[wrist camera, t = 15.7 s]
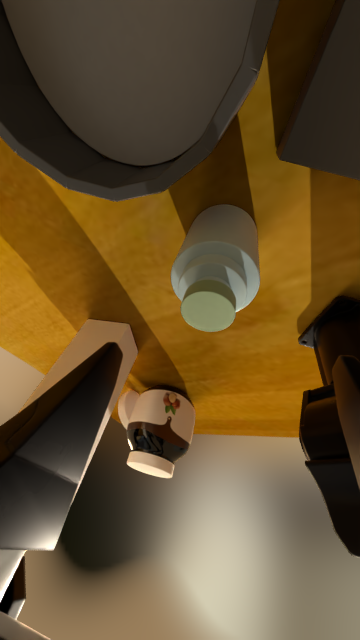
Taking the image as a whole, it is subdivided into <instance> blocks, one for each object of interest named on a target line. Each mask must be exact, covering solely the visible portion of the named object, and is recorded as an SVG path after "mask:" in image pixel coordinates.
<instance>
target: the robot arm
mask: <svg viewBox="0 0 360 640" xmlns="http://www.w3.org/2000/svg"><path fill="white" fill-rule="evenodd" d="M340 301H343V302H340ZM303 340H305V341H303ZM298 341H299V344H301V345H304V346H307V347H311V348H314V351H315V354H316V358H317V362H318V366H319V370H320V374H321V378H322V381H323V385H324V386H323V387H320V388H317V389H314V390H307V391H304V392H303V400H302V409H301V418H300V427H299V439H300V443H301V446H302V449H303V452H304V454H305V456H306V458H307V460H308V461H305V465H306V467H307V469H308V470H309V472H310V473H311V475H312V477H313V478H314V480H315V482H316V484H317V486H318V488H319V490H320V492H321V494H322V497H323V500H324V502H325V505H326V508H327V510H328V514H329V517H330V520H331V523H332V526H333V529H334V531H335V533H336V535H337V536H338V538H339V539H340V541H341V542H342V544H343V545H344V546H345V548H346V549H347V551H348V552H349V553H350V554H351V555H352V556H355V557H359V558H360V300H359V299H355V298H351V297H348V296H343V295H342V296H338V297H336V298H335V299H334V300H333V301H332V302H331V303H330V304H329V306H328V307H327V308H326V309H325V310H324V311H323V312H322V313H321V314H320V315H319V316H318V317H317V319H316V320H315V321H314V322H313V323H312V324H311V325H310V326H309V327H308V328H307V329H306V331H305V332H304V333H303V334H302V335H301V336H300V337H299V338H298ZM122 359H123V353H122V351H121V349H120V347H119V345H118V344H117V343H116V342H107V343H106V344H104V345H103V346H102V347H101V348H99V349H98V350H97V351H96V352H94V353H93V354H92V355H91V356H89V357H88V358H87V359H86V360H84V361H83V362H82V363H81V364H79V365H78V366H77V367H76V368H74V369H73V370H72V371H71V372H69V373H68V374H67V375H66V376H64V377H63V378H62V379H61V380H60V381H58V382H57V383H56V384H55V385H53V386H52V387H51V388H50V389H48V390H47V391H46V392H45V393H43V394H42V395H41V396H40V397H39V398H37V399H36V400H35V401H33V402H32V403H31V404H30V405H28V406H27V407H26V408H24V409H23V410H22V411H21V412H19V413H18V414H17V415H15V416H14V417H13V418H11V419H10V420H8V421H7V422H6V423H4V424H3V425H1V426H0V640H51V639H50V638H48V637H46V636H44V635H42V634H41V633H39V632H37V631H35V630H34V629H32V628H30V627H28V626H26V625H25V624H23V623H21V622H19V621H17V620H16V619H17V617H18V615H19V613H20V610H21V608H22V606H23V604H24V601H25V599H26V588H25V557H24V556H23V555H24V553H25V550H54V547H55V545H56V543H57V540H58V538H59V535H60V532H61V530H62V527H63V524H64V522H65V519H66V516H67V514H68V511H69V508H70V506H71V503H72V500H73V498H74V495H75V493H76V490H77V487H78V485H79V482H80V479H81V476H82V474H83V471H84V468H85V466H86V463H87V460H88V458H89V455H90V452H91V450H92V447H93V444H94V442H95V439H96V436H97V434H98V431H99V428H100V426H101V423H102V420H103V418H104V415H105V412H106V410H107V407H108V404H109V402H110V399H111V396H112V394H113V391H114V388H115V385H116V382H117V378H118V374H119V370H120V366H121V363H122Z"/></svg>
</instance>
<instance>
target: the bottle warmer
mask: <svg viewBox="0 0 360 640" xmlns="http://www.w3.org/2000/svg"><path fill="white" fill-rule="evenodd" d="M279 1H280V0H0V136H1V138H2V139H3V140H4V141H5V142H6V143H7V144H8V145H9V146H10V148H11V149H12V150H13V151H14V152H15V153H17V155H19V156H20V157H22V158H23V159H24V160H26V161H27V162H29V163H30V164H32V165H33V166H35V167H36V168H38V169H39V170H40V171H42V172H43V173H45V174H46V175H48V176H49V177H51V178H52V179H53V180H55V181H56V182H58V183H59V184H61V185H62V186H64V187H65V188H68V189H70V190H73V191H77V192H81V193H85V194H88V195H92V196H96V197H100V198H103V199H107V200H111V201H122V200H127V199H132V198H137V197H142V196H147V195H152V194H157V193H161V192H162V191H165V190H166V189H168V188H169V187H170V186H171V185H173V184H174V183H175V182H176V181H178V180H179V179H180V178H181V177H183V176H184V175H185V174H186V173H188V172H189V171H190V170H192V169H193V168H194V167H195V166H197V165H198V164H199V163H200V162H202V161H203V160H204V159H205V158H207V157H208V156H209V155H210V153H211V152H212V151H213V150H214V149H215V147H216V146H217V145H218V143H219V142H220V140H221V139H222V137H223V136H224V134H225V132H226V131H227V129H228V127H229V126H230V124H231V122H232V121H233V119H234V117H235V116H236V114H237V112H238V111H239V109H240V107H241V106H242V104H243V102H244V101H245V99H246V97H247V96H248V94H249V92H250V91H251V89H252V87H253V86H254V84H255V81H256V80H257V77H258V74H259V71H260V67H261V64H262V60H263V57H264V53H265V50H266V46H267V43H268V39H269V36H270V32H271V29H272V25H273V22H274V18H275V15H276V11H277V8H278V4H279ZM36 82H37V83H36ZM37 84H38V85H39V87H40V88H39V87H38V85H37ZM40 89H41V90H40ZM69 128H70V129H71V130H72V131H73V132H74V133H75V134H76V135H77V136H78V137H77V136H76V135H75V134H74V133H72V131H71V130H70V129H69ZM81 139H82V140H81ZM198 140H199V141H198ZM197 141H198V142H197ZM196 142H197V143H196ZM195 143H196V144H195ZM194 144H195V145H194ZM193 145H194V146H193ZM189 148H190V149H189ZM188 149H189V150H188ZM186 150H188V151H187V152H185V151H186ZM97 151H98V152H97ZM184 152H185V153H184ZM100 153H101V154H103V155H105V156H107V157H108V158H110V159H113V160H115V161H112V160H109V159H106V158H105V157H104V156H102V155H101V154H100ZM182 153H184V154H183V155H182V156H181V157H180V158H178V159H177V160H175V161H171V162H167V163H163V162H166V161H169V160H171V159H173V158H175V157H177V156H179V155H181V154H182ZM116 161H118V162H116ZM120 162H121V163H120ZM124 163H125V164H124ZM160 163H163V164H160ZM128 164H130V165H128ZM154 164H158V165H154ZM132 165H137V166H148V165H154V166H150V167H146V168H139V167H136V166H132Z"/></svg>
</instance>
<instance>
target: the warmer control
mask: <svg viewBox="0 0 360 640" xmlns="http://www.w3.org/2000/svg"><path fill="white" fill-rule="evenodd" d="M276 154H277V156H278V158H279V160H282V161H286V162H290V163H294V164H298V165H302V166H306V167H310V168H314V169H318V170H321V171H325V172H329V173H333V174H337V175H341V176H345V177H349V178H353V179H357V180H360V0H336V2H335V4H334V7H333V9H332V12H331V14H330V17H329V19H328V22H327V25H326V27H325V30H324V32H323V35H322V37H321V40H320V42H319V45H318V47H317V50H316V52H315V55H314V57H313V60H312V63H311V65H310V68H309V70H308V73H307V75H306V78H305V80H304V83H303V85H302V88H301V90H300V93H299V96H298V98H297V101H296V103H295V106H294V108H293V111H292V113H291V116H290V118H289V121H288V123H287V126H286V128H285V131H284V134H283V136H282V139H281V141H280V144H279V146H278V149H277V151H276Z"/></svg>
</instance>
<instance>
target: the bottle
mask: <svg viewBox="0 0 360 640" xmlns="http://www.w3.org/2000/svg"><path fill="white" fill-rule="evenodd" d="M171 283H172V287H173V289H174V291H175V293H176V295H177V296H178V298H179V299H180V300H181V301H182V303H181V314H182V316H183V318H184V319H185V321H186V322H187V323H188V324H189V325H191V326H192V327H194V328H196V329H199V330H202V331H209V332H213V331H220V330H223V329H225V328H227V327H228V326H229V325H230V324H231V323H232V322H233V321H234V318H235V314H236V312H237V311H239V310H241V309H242V308H244V307H245V306H247V305H248V304H249V303H250V302H251V301H252V300H253V298H254V297H255V295H256V293H257V291H258V288H259V284H260V272H259V254H258V236H257V228H256V225H255V223H254V221H253V219H252V218H251V217H250V215H249V214H248V213H247V212H245V211H244V210H243V209H241V208H239V207H236V206H233V205H228V204H221V205H215V206H212V207H209V208H207V209H206V210H204V211H203V212H201V213H200V214H199V215H198V216H197V217H196V219H195V220H194V222H193V223H192V225H191V227H190V229H189V232H188V234H187V236H186V238H185V240H184V242H183V244H182V246H181V249H180V251H179V253H178V255H177V257H176V259H175V261H174V264H173V266H172V270H171Z"/></svg>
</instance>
